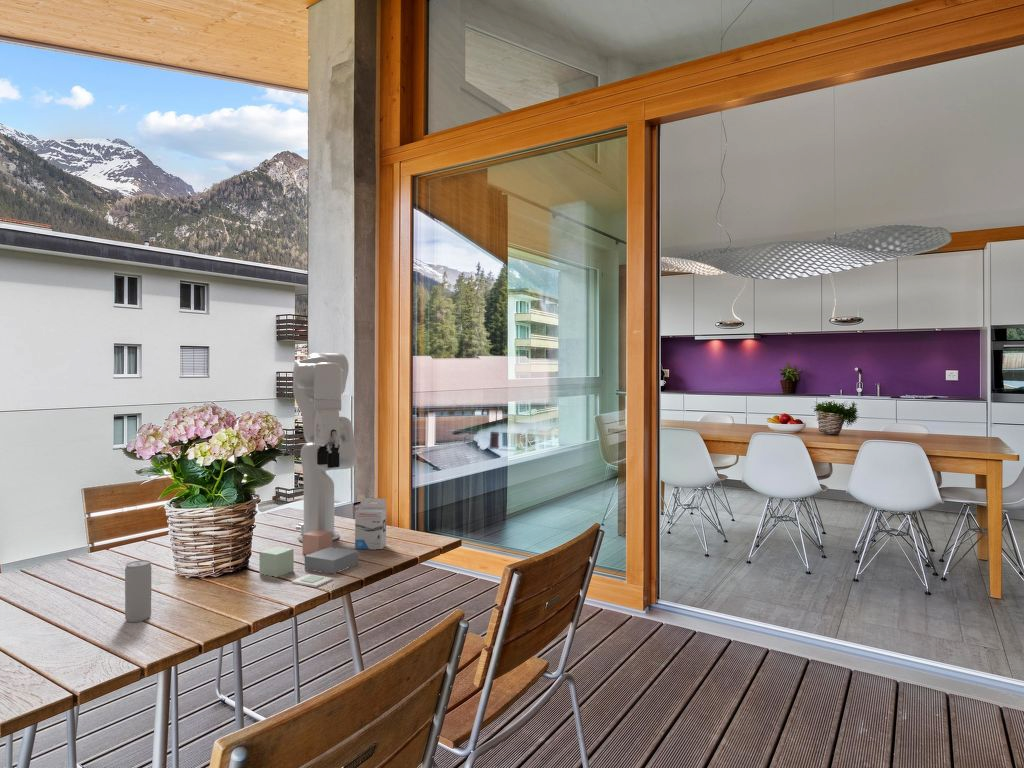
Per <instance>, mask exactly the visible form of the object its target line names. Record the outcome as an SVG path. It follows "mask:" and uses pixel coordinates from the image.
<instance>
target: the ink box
mask: <svg viewBox="0 0 1024 768" xmlns="http://www.w3.org/2000/svg"><path fill="white" fill-rule="evenodd" d="M386 500H387V499H386V498H375V497H373V498H372V497H368V498H367V497H366V498H365V497H362V498H360V507H359V509H356V510H355V512H354V514H355V515H354V517H355V518H354V527H355V529H354V530H355V531H354V548H355V550H376V549H382V550H383V549H384V548H385V547H386V545H387V506H386V505H387V501H386ZM372 502H374V503H372Z"/></svg>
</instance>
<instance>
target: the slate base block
mask: <svg viewBox="0 0 1024 768" xmlns="http://www.w3.org/2000/svg"><path fill="white" fill-rule="evenodd" d="M357 563H358V564H359V550H356V549H355V550H353V549H349V548H341V547H334V546H332V547H328V548H325V549H323V550H320V551H317V552H314V553H311V554H309V555H304V570H305V569H309V570H308V571H311V570H316V571H315V572H317V571H321V572H320V573H323V572H327V573H326V574H329V573H335V572H338V571H340V570H342V571H344V570H343V569H345V568H347V567H350V566H352V565H354V564H357ZM358 564H357V565H358ZM354 566H355V565H354ZM352 567H353V566H352ZM350 568H351V567H350ZM347 569H348V568H347ZM345 570H346V569H345ZM340 572H341V571H340ZM338 573H339V572H338ZM335 574H336V573H335Z"/></svg>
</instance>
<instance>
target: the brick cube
mask: <svg viewBox="0 0 1024 768" xmlns="http://www.w3.org/2000/svg"><path fill="white" fill-rule="evenodd" d="M328 547H333V540H332V532H331V531H323V530H314V531H311V532H308V533H305V534H303V542H302V555H304V554H308V555H309V554H311V553H314V552H317V551H320V550H323V549H325V548H328Z"/></svg>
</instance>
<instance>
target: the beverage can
mask: <svg viewBox="0 0 1024 768" xmlns="http://www.w3.org/2000/svg"><path fill="white" fill-rule="evenodd" d="M124 614H125V615H124V616H125V617H124V618H125V620H126V621H127V622H128V623H133V624H135V623H141V622H144V621H147V620H148V619H150V617H151V616H152V563H151V560H147V559H146V560H145V559H144V560H143V559H141V560H134V561H130V562H128V563H126V564H125V568H124Z"/></svg>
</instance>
